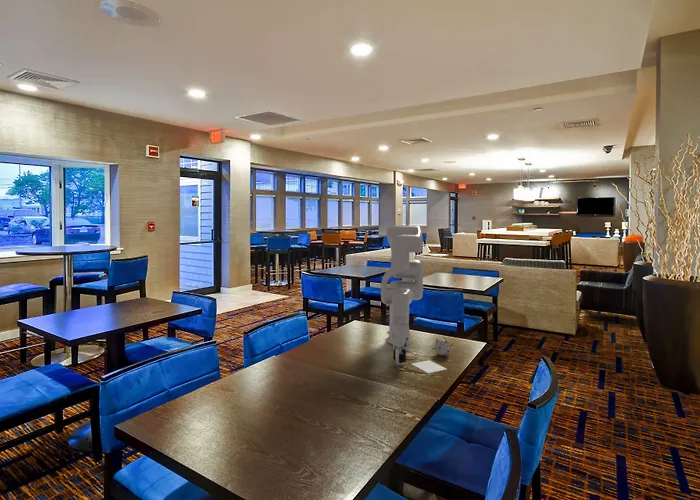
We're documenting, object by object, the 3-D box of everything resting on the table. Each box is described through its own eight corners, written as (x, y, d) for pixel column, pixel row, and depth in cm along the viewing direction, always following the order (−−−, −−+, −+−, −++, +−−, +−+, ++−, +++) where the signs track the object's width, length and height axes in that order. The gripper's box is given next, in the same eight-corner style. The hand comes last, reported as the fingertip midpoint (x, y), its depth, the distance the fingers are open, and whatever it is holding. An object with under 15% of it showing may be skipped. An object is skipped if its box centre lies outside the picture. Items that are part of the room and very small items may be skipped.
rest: (399, 356, 191) (399, 355, 191) (410, 354, 194) (411, 353, 194) (407, 360, 185) (407, 359, 185) (419, 358, 188) (419, 357, 188)
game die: (445, 364, 191) (455, 351, 185) (428, 357, 191) (438, 344, 185) (446, 349, 199) (455, 336, 193) (429, 343, 198) (438, 330, 193)
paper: (410, 364, 180) (410, 363, 180) (429, 360, 185) (429, 360, 185) (428, 373, 170) (428, 373, 170) (447, 369, 174) (447, 368, 174)
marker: (393, 363, 182) (393, 343, 181) (400, 361, 184) (400, 342, 183) (398, 365, 179) (398, 345, 178) (405, 364, 180) (405, 344, 180)
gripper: (382, 316, 185) (382, 356, 187) (404, 325, 170) (403, 368, 172) (396, 314, 189) (395, 354, 190) (418, 323, 174) (417, 365, 175)
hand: (399, 360), depth 181 cm, fingers closed on marker, 3 cm apart
